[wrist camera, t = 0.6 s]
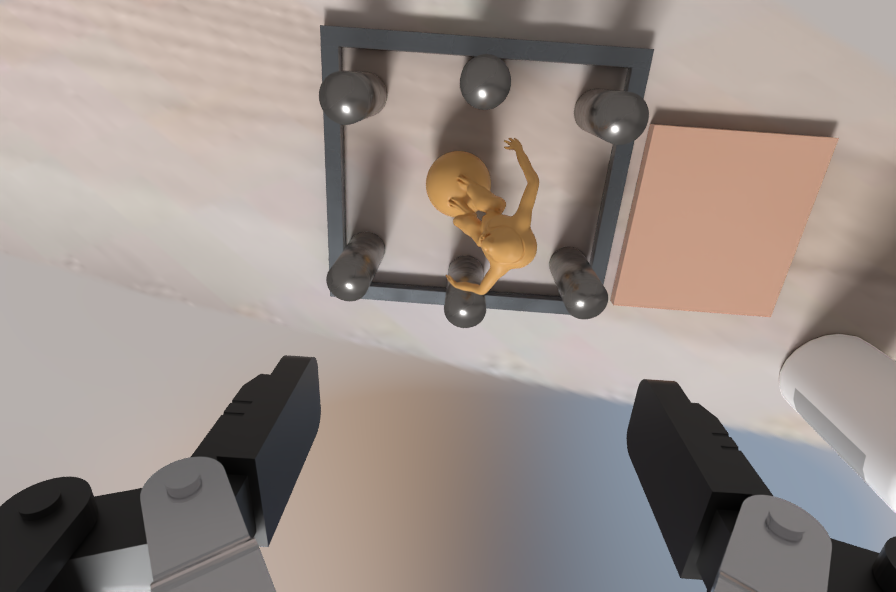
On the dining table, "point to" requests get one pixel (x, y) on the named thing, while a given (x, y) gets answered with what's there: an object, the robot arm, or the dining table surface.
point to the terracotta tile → (718, 218)
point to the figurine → (468, 190)
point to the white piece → (848, 404)
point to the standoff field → (484, 89)
